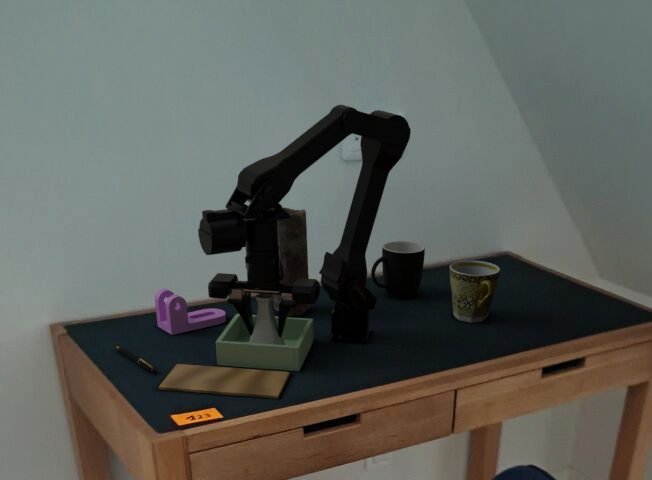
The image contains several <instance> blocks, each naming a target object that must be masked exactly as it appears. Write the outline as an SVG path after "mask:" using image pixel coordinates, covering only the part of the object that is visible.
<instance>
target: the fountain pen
mask: <svg viewBox="0 0 652 480" xmlns="http://www.w3.org/2000/svg"><path fill="white" fill-rule="evenodd" d="M115 347H116V349H118V351H119V352H120V353H122V354H123V355H124V356H125V357H127V358H129V359H130V361H133V362H134V363H136V364H137V365H138V366H139V367H142V368H143V369H145V370H147V371H149V372H151V373H155V372H156V368H155V367H154V366H153V365H152V364H151V363H150V362H148V361H146V359H144V358H142V357H140V356H139V355H137V354H135V353H133V352H132V351H129V350H128V349H126V348H124V347H122V346H118V345H116V346H115Z"/></svg>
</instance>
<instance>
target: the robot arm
mask: <svg viewBox="0 0 652 480" xmlns="http://www.w3.org/2000/svg"><path fill="white" fill-rule="evenodd" d="M411 130H412V129H411V127H410V125H409V122H408V121H407V119H406V118H405V117H404V116H402V115H400V114H397V113H392V112H388V111H386V110H380V109H377V110H373V111H372V112H370V113H367V112H363V111H360V110H357V108H354V107H352V106H348V105H345V104H337V105H335V106H333V107H332V108H331V110H330V111H329V113H327V114H326V115H325V116H323V117H322V118H321V119H319V120H318V121H316V123H315V124H313V125H312V126H311V127H309V128H308V129H307V130H306V131H304V132H303V133H302V134H300V135H299V136H298V137H297V138H296V139H294V140H293V141H292V142H290V144H288V145H287V146H286V147H284V148H283V149H282V150H280V151H279V152H277V153H275V154H272V155H270V156H266V157H264V158H261V159H258V160H257V161H254V162H253V163H251V164H248V165H247V166H245V167H243V168H242V170H240V172H239V173H238V175H237V183H236V186H235V188H234V190H233V192H232V194H231V195H230V197H229V199H228V201H227V203H226V205H225V209H217V210H212V209H206V210H205V209H204V210H202V211H201V215H202V216H201V217H202V218H201V219H200V221H199V227H198V229H197V233H198V239H199V243H200V247H201V249H202V252H203V253H204V255H206V256H212V255H213V256H214V255H220V254H227V253H228V254H229V253H235V252H241V251H242V250H243V248H245V256H244V263H245V269H246V277H247V278H246V280H239V277H238V275H237V274H236V273H223V272H217V273H216V274H215V275H214V277H213V278H212V279H211V280H210V281H209V282H208V284H207V293H208V298H210V299H219V300H220V299H222V300H226V299H227V298H228V299H227V304H229V305H232V306H233V307H234V308H235V310H236V312H237V314H240V316H241V318H242V320H243V321H244V323H245V325H246V327H247V329H248V331H249V333H250V335H251V336H252V333H253V328H254V323H253V316H252V315H253V309H252V302H251V301H252V294H260V293H261V294H277V295H282V297H283V299H282V300H281V302H280V303H279V312H278V316H277V317H278V334H279V337H282V335H283V331H284V328H285V324H286V321H287V317H289V316H288V314H289V312H290V309H291V308H295V307H296V306H297V304H310V305H315V304H316V303H317V301H318V299H319V296H320V295H321V291H320V289H321V288H320V287H321V286H322V288H323V290H324V291H325V292H326V293H327V294H328V296H329V297H328V298H329V299H330V300H331V301H333V302H335V304H334V306H333V309H332V311H331V313H330V315H331V316H330V320H331V321H330V324H331V325H330V331H331V332H330V333H331V335H332V337H331V338H332V339H331V340H332V341H334V342H350V343H361V344H362V343H363V344H364V343H367V342H368V338H369V336H370V332H371V328H370V311H373V310H375V307H376V304H377V301H378V298H377V296H376V295H375V294H373V292H372V291H370V289H368V288H367V287H366V285H367V278H368V265H367V259H366V258H367V257H366V253H367V249H368V246H369V242H370V239H371V236H372V231H373V230H374V229H373V228H374V225H375V222H376V218H377V216H378V212H379V209H380V205H381V201H382V198H383V195H384V192H385V188H386V184H387V181H388V177H389V174H390V172H391V171H392V170H393V168H394V167H395V166H396V165H397V164H398V163H399V161H401V159H402V158H403V155H404V153H405V150H406V149H407V146H408V145H409V142H410V140H411V139H410V138H411V133H412V131H411ZM351 135H356V136H360V151H361V152H360V154H361V162H362V163H361V168H360V172H359V175H358V178H357V182H356V186H355V189H354V192H353V196H352V199H351V203H350V207H349V210H348V215H347V218H346V222H345V225H344V228H343V231H342V232H343V233H342V236H341V239H340V242H339V245H338V247H337V248H336V249H335V250H334V251H333V253H331V252H329V251H326V252H325V253H324V255H323V263H322V266H321V268H320V270H319V271H318V274H319V275H321V276H320V282H319V281H318V280H317V279H316V278H309V279H306V278H297V279H296V281H295V283H294V284H284V283H281V281H283V280H284V278H285V277H286V260H285V259H282V258H281V253H280V250H279V222H278V220H282V219H289V218H290V217H291V216H290V214H289V213H287V212H286V211H285V210H284V209H283V208H284V207H283V205H282V204H281V201H282V200H283V199H284V198H285V197H286V196H287V195H288V193H290V191H291V189H292V187H293V185H294V184H295V183H294V182H295V181H296V180H297V179H298V178H299V176H300V175H302V174H303V173H304V172H305V171H306V170H308V169H309V168H310V167H312V166H313V165H314V164H315V163H316V162H318V161H319V160H320V159H322V158H323V157H324V156H325V155H326V154H328V153H329V152H331V150H333V149H334V148H335V147H336V146H338V145H339V144H340V143H341V142H343V141H344V140H345V139H347V138H348V137H349V136H351ZM247 202H248V203H249V204H246V203H247ZM320 284H321V286H320Z"/></svg>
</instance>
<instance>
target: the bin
mask: <svg viewBox="0 0 652 480" xmlns="http://www.w3.org/2000/svg"><path fill="white" fill-rule="evenodd" d="M252 316H253V323H254V324H255V321H256V317H257V314H252ZM274 317H275V319H276V322H277V325H278V317H279V316H276V315H274ZM282 337H283V339H284V342H285V345H274V344H260V343H249V341H250V338H251V335H250V333H249V331H248V329H247V327H246V325H245V323H244V321H243V320H242V318H241V316H240V314H239V313H236V314H235V315H234V316H233V317H232V319H231V320H230V322H229V323H228V324H227V325H226V327H225V329H224V330H223V331H222V332H221V334H220V335H219V337H218V338H216V341H215V353H216V365H217V366H219V367H233V368H247V369H261V370H275V371H288V372H290V371H291V372H300V370H301V368H302V366H303V365H304V362H305V360H306V358H307V356H308V353H309V351H310V349H311V348H312V345H313V343H314V318H306V317H305V318H304V317H303V318H302V317H292V316H288V317H287V321H286V324H285V328H284V331H283V335H282Z"/></svg>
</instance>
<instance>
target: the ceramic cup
mask: <svg viewBox="0 0 652 480" xmlns="http://www.w3.org/2000/svg"><path fill="white" fill-rule="evenodd" d="M500 274H501V268H500V267H499V266H498V265H497V264H494V263H491V262H488V261H483V260H460V261H456V262H453V263H451V264H450V265H449V281H450V289H451V301H452V311H453V313H452V314H453V316H454V318H456V319H457V320H458V321H461V322H465V323H471V324H474V323H482V322H483V321H485V320H486V319H487V318H488V317H489V313H490V309H491V305H492V303H493V299H494V295H495V291H496V289H497V286H498V283H499V280H500Z"/></svg>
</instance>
